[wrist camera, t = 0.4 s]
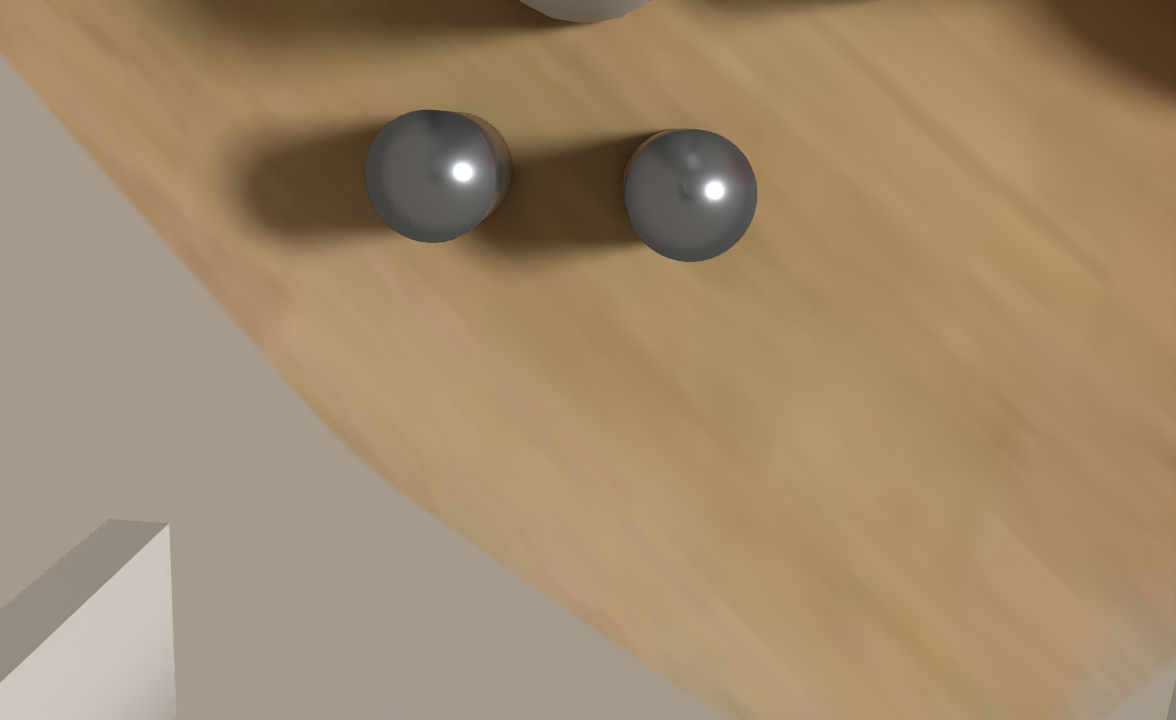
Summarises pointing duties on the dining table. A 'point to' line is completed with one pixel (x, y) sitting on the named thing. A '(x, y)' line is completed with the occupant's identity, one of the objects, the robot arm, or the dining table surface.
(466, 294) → the dining table surface
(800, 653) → the dining table surface
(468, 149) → the chrome peg cluster
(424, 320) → the dining table surface
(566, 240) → the dining table surface
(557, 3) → the can
